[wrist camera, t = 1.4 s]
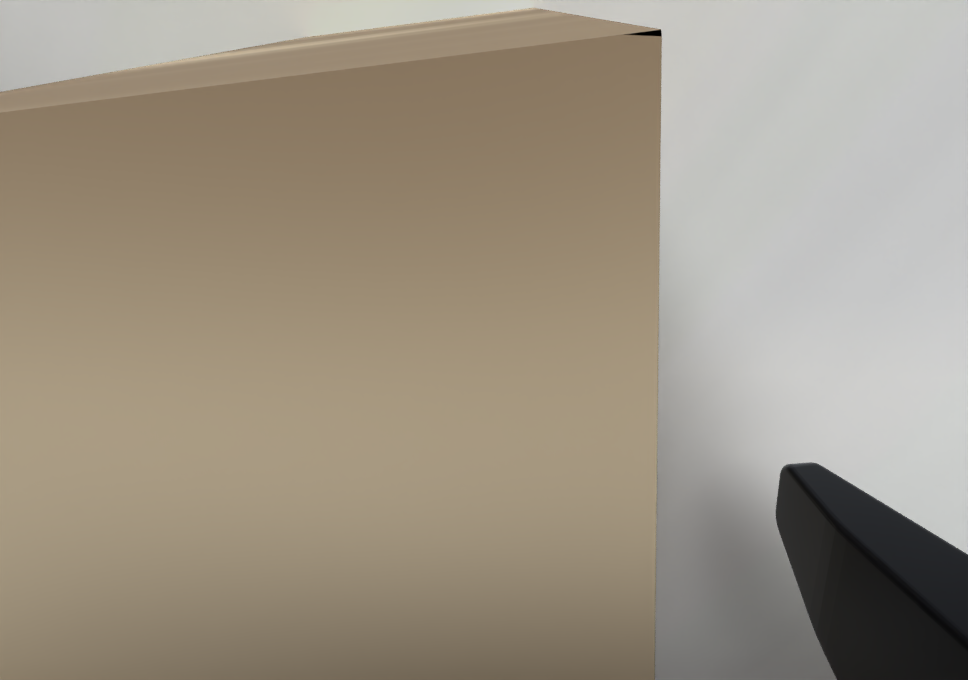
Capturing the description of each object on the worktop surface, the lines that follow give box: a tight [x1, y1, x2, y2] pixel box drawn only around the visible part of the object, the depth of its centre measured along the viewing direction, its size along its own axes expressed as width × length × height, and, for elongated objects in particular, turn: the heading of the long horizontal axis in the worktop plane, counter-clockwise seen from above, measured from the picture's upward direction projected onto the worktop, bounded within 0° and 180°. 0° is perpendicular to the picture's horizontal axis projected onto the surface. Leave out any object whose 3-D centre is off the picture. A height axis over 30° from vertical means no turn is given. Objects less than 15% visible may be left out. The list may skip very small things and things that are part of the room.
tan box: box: [0, 8, 662, 680], centre depth 9 cm, size 12×4×9 cm, turn 7°
